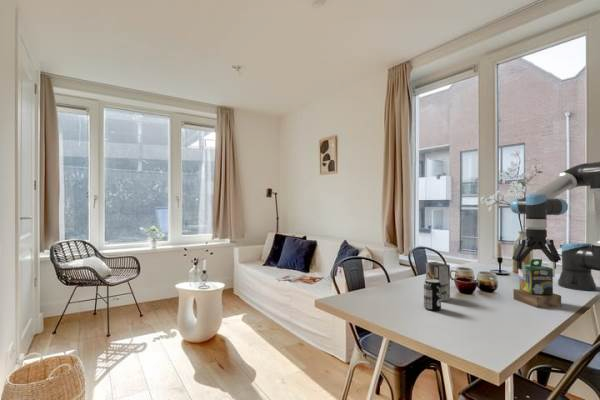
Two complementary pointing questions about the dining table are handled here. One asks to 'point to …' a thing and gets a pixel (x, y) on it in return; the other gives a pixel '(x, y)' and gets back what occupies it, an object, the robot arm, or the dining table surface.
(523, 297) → the walnut block
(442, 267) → the coffee box
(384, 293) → the dining table surface
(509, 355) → the dining table surface
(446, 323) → the dining table surface
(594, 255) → the robot arm
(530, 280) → the chalk box
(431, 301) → the beverage can
